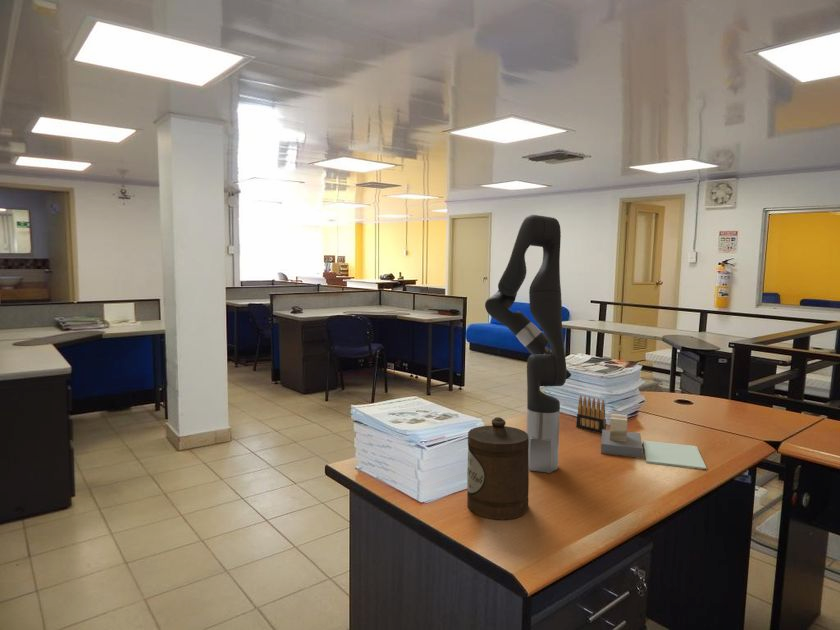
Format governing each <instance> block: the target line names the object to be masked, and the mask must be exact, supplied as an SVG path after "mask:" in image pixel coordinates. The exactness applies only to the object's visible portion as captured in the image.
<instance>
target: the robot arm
mask: <svg viewBox="0 0 840 630" xmlns="http://www.w3.org/2000/svg"><path fill="white" fill-rule="evenodd" d="M560 224H561V223H560V222H559V220H558V219H557V218H556V217H553V216H552V217H551V216H544V215H538V214H530V215H529V214H528V215H527V216H526V217H525V218H524V220H522V223H521V225H520V227H519V230H518V233H517V235H516V239H515V242H514V245H513V248H512V251H511V255H510V257H509V260H508V263H507V265H506V267H505V270H504V271H503V273H502V275H501V276H500V279H499V281H498V284H497V288H498V290H497V291H496V292H495V293H494V294H493V295H491V296H490V297H488V298H487V299H486V301H485V302H484V307H485V310H486V312H487V314H488V315H489V316H490V317H491V318H493V319H494V320H495V321H497V322H499V323H500V324H502V325H503V326H505V327H506V328H507V329H508V330H510V332H511V333H512V334H513V335H514V336H515V337H516V338H517V339H518V341H519V343H521V344H522V345H523V346H524V347H525V348H526V350H527V351H528V352H529V353H530V355H529V356H528V358H527V362H526V379H527V380H526V385H527V386H526V387H527V388H526V389H527V390H526V395H527V396H526V397H527V398H526V399H527V400H526V401H527V402H526V403H527V406H526V410H527V412H526V433H527V434H528V439H529V447H528V469H529V471H532V472H540V473H548V474H551V473H553V472H554V471H557V470H558V469H559V447H560V446H559V445H560V443H559V441H560V415H561V413H560V409H561V403H560V400H559V399H557V398H556V397H553V396H551V395H549V394H547V393H544V392H542V390H541V389H540V388H541V387H563V386H564V385H565V383H566V380H568V379H569V378H571V376H572V372H570V371H569V370H568V369H567V360H566V352H565V343H564V342H565V341H564V334H563V315H562V314H563V313H562V312H563V310H562V309H563V307H562V306H563V305H562V301H563V300H562V290H561V273H560V271H561V269H560V268H561V266H560V264H561V263H560V261H561V259H560V257H561V238H562V236H561V235H562V234H561V233H562V231H561V225H560ZM532 246H533V247H540V248H542V253H543V254H542V263H541V265H540V267H539V270H538V271H537V272H536V274H535V276H534V277H533V279H532V281H531V283H530V285H529V290H528V291H529V292H528V293H529V298H528V299H529V310H530V313H531V316H532V317H533V319H534V320H535V322H536V323H537V325H538V326H539V327H540V328H539V327H538V326H536V324H534V323H533V322H532V321H531V320H530V319H529V318H528V317H527V316H526V315H525V314H524V313H523V312H521V311H512V310H510V308H511V307H512V306H513V305H514V303H515V301H516V298H517V295H518V292H519V290H520V289H521V286H522V285H523V283H524V281H525V280H526V277H527V263H526V257H525V256H526V252H527V251H528V249H529V247H532ZM541 330H542V331H541ZM548 345H549V346H550V348H549V347H548Z"/></svg>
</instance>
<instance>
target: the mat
mask: <svg viewBox="0 0 840 630" xmlns="http://www.w3.org/2000/svg"><path fill="white" fill-rule="evenodd" d="M642 446H643V448H644V449H643V450H644V456H645V463H646V464H653V465H654V464H655V465H661V466H662V465H663V466H670V467H677V466H679V468H686V467H689V468H688V469H694V468H697V469H696V470H702V469H706V470H707V469H708V468H707V466H706V464H705V461H704V459H703V456H702V455H701V453H700V451H699V449H698V447H697V445H689V444H681V443H679V444H678V443H670V442H669V443H668V442H661V441H651V440H642Z"/></svg>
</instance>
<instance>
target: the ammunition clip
mask: <svg viewBox="0 0 840 630" xmlns="http://www.w3.org/2000/svg"><path fill="white" fill-rule="evenodd" d="M595 399H596V398H595V397H593V398H592V400H591V397H590V396H588V399H587V396H586V395H584V397H582V395H581V394H580V395H579V398H578V405H577V415H576V422H575V423H576V424H575V427H576V428H577V427H579V428H578V429H581V428H582V430H585V429H586V431H589V430H590V432H593V431H594V432H593V433H597V432H598V433H599V434H601V435H602V429H604V430H607V429H606V428H607V427H606V426H607V424H606V421H607V419H606V403H605V400H604V399H602V401H601V400H600V398H597V400H595ZM598 433H597V434H598Z"/></svg>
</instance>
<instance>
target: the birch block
mask: <svg viewBox="0 0 840 630" xmlns="http://www.w3.org/2000/svg"><path fill="white" fill-rule="evenodd" d="M609 423H610V425H609V430H610V440H615V441H624V442H627V432H628V414H627V415H626V414H619V413H618V414H617V413H610V421H609Z"/></svg>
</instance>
